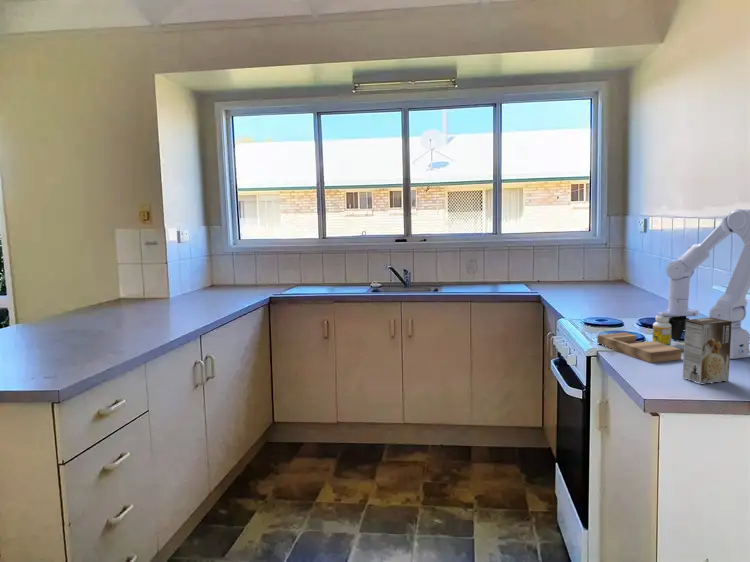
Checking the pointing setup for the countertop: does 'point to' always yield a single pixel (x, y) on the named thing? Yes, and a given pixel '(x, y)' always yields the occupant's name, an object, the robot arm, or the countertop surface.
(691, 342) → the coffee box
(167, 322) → the countertop surface
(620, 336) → the board
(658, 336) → the supplement bottle
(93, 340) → the countertop surface
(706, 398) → the countertop surface
